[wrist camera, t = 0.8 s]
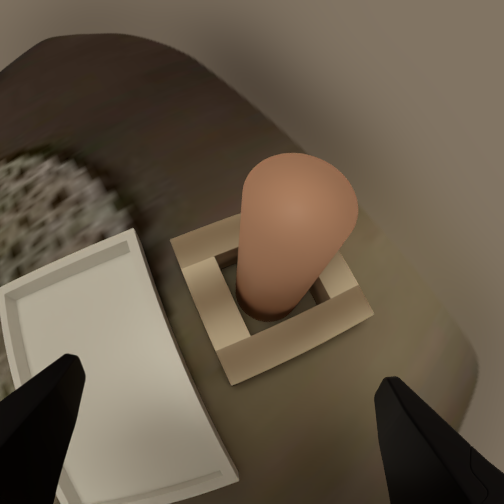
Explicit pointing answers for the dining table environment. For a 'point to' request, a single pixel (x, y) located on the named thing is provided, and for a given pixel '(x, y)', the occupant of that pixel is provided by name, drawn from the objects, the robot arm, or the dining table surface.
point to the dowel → (289, 231)
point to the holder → (229, 318)
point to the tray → (116, 378)
